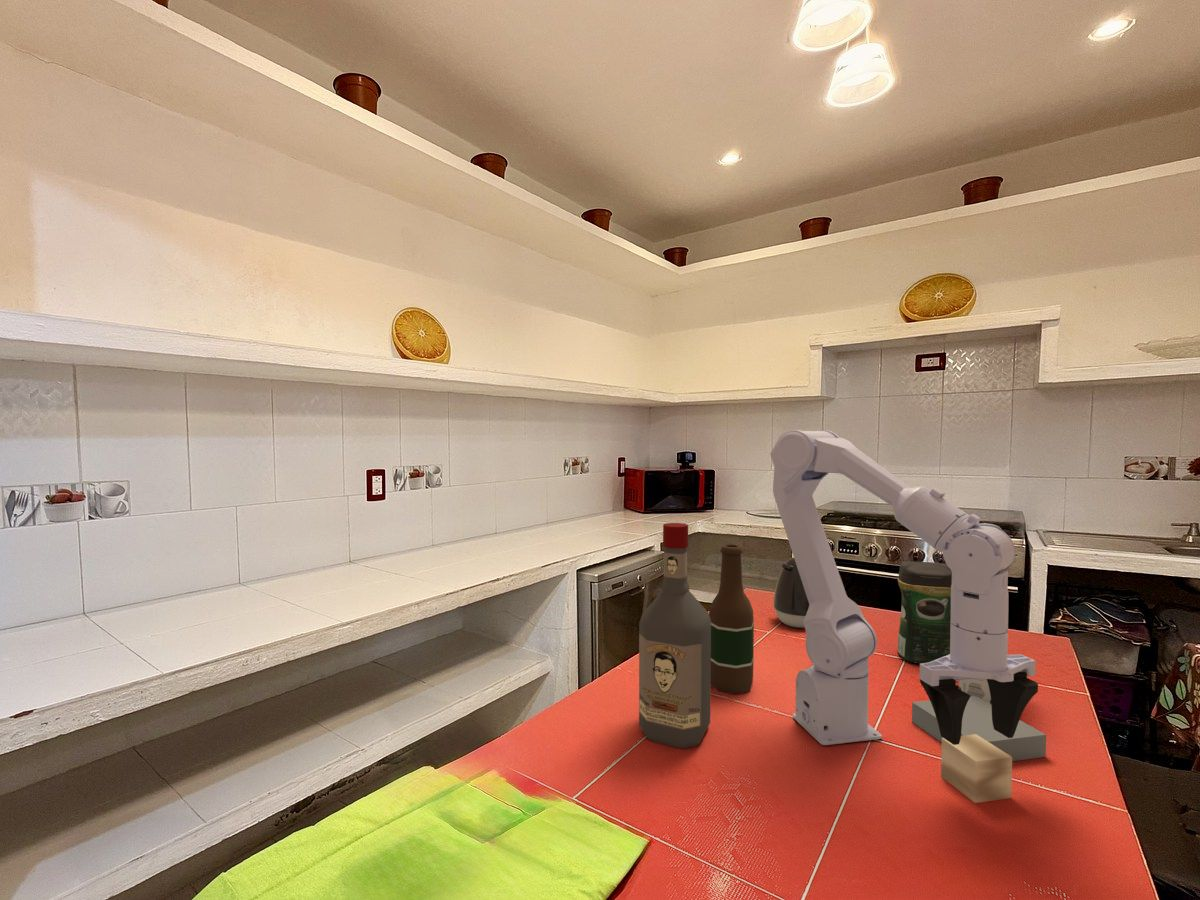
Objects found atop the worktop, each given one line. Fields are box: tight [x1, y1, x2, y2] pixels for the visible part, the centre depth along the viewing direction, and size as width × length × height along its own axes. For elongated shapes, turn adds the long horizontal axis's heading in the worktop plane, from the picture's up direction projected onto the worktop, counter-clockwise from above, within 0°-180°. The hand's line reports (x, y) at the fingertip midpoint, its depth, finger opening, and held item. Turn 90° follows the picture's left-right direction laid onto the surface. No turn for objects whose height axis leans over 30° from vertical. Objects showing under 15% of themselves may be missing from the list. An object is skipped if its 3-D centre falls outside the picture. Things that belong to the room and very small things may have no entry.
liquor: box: [638, 522, 712, 749], centre depth 79 cm, size 9×9×30 cm
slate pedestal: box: [911, 696, 1047, 762], centre depth 77 cm, size 11×11×3 cm
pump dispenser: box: [772, 556, 809, 629], centre depth 123 cm, size 10×10×15 cm
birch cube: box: [940, 734, 1013, 804], centre depth 67 cm, size 5×5×5 cm
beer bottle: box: [708, 543, 755, 695], centre depth 93 cm, size 8×8×24 cm
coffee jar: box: [897, 560, 952, 665], centre depth 104 cm, size 10×8×19 cm
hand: (976, 736), depth 66 cm, fingers open, 7 cm apart
